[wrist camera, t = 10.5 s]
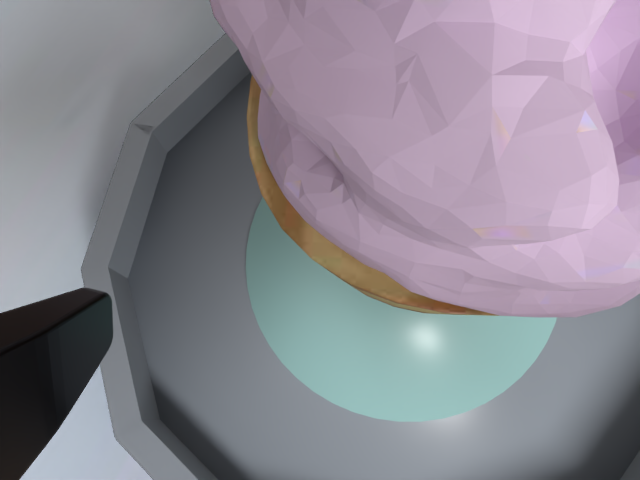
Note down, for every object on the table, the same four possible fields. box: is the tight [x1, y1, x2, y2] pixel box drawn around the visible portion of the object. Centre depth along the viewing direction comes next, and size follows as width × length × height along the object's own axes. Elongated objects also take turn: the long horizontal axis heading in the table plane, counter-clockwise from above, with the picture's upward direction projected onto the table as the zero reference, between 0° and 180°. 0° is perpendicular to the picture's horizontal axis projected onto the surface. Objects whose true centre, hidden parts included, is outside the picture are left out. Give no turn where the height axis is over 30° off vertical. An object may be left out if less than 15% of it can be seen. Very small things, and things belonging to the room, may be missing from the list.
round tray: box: [81, 33, 640, 480], centre depth 17 cm, size 19×19×2 cm
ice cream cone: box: [210, 0, 640, 317], centre depth 10 cm, size 7×6×15 cm
